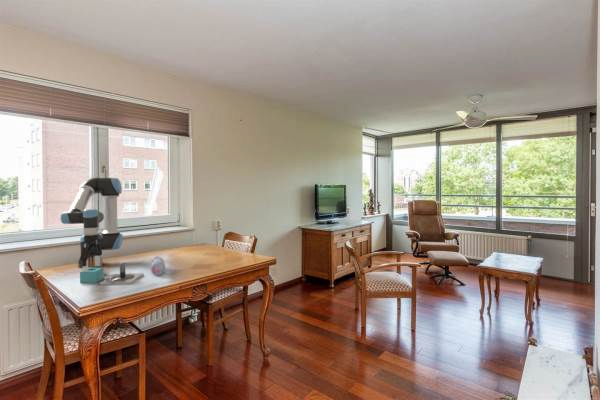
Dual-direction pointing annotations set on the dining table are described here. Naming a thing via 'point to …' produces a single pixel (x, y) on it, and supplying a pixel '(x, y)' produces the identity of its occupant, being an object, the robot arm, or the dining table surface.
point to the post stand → (122, 277)
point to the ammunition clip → (94, 263)
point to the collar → (92, 275)
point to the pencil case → (157, 266)
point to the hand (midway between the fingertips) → (91, 268)
